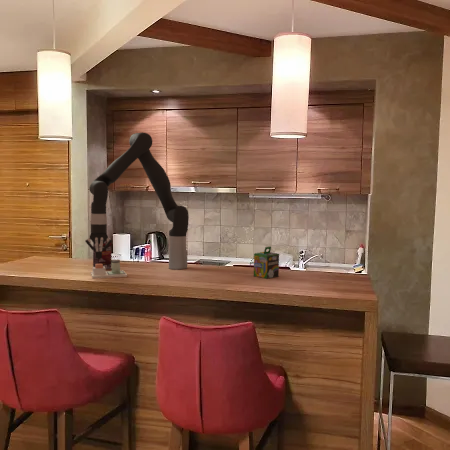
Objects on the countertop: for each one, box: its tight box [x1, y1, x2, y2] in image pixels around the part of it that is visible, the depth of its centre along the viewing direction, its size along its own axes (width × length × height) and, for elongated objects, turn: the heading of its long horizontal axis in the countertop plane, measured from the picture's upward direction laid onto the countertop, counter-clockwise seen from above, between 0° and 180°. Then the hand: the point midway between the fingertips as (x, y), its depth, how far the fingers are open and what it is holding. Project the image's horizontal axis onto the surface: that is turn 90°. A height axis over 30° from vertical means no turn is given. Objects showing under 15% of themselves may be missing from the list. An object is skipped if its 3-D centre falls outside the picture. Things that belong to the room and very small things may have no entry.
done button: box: [95, 264, 103, 268], centre depth 232 cm, size 3×3×2 cm
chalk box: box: [253, 246, 280, 280], centre depth 237 cm, size 9×9×15 cm
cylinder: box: [111, 259, 121, 274], centre depth 235 cm, size 4×4×6 cm
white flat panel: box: [90, 269, 128, 279], centre depth 234 cm, size 16×12×1 cm
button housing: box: [92, 266, 107, 275], centre depth 232 cm, size 6×6×3 cm
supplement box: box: [92, 237, 113, 270], centre depth 251 cm, size 9×5×16 cm, turn 143°
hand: (98, 259), depth 232 cm, fingers closed
